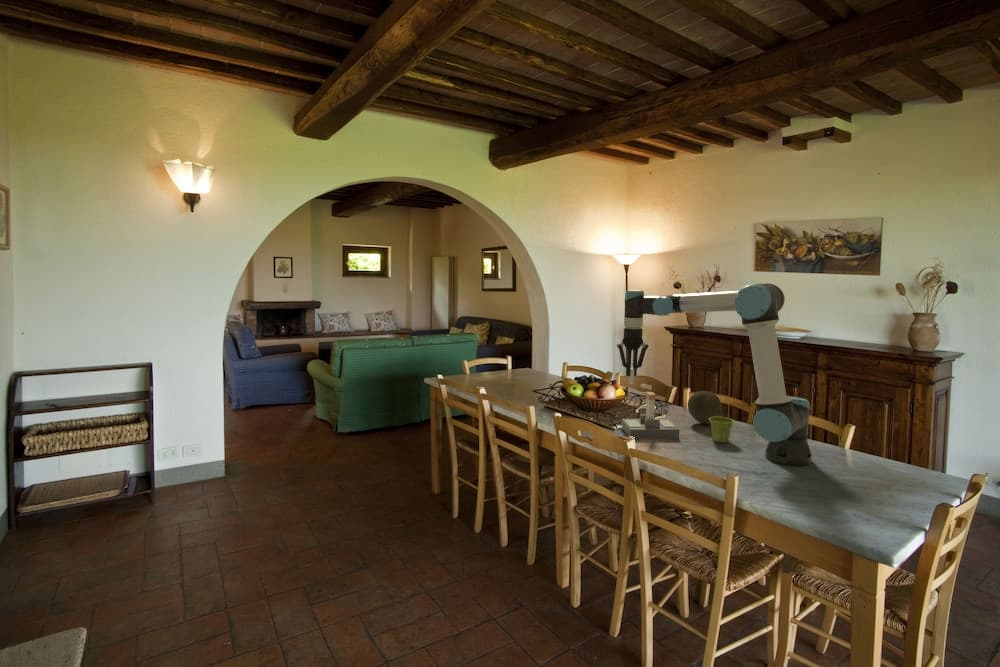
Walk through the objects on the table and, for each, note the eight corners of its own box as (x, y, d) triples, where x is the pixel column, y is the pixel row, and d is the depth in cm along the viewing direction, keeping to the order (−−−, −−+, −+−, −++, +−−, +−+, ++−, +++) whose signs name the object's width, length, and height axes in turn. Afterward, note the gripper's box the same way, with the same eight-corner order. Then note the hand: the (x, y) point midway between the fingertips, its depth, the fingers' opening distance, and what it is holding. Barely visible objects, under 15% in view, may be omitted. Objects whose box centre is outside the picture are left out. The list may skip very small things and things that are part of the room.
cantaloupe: (712, 419, 257) (714, 387, 255) (727, 428, 243) (728, 394, 241) (682, 420, 256) (683, 388, 254) (695, 429, 242) (696, 395, 240)
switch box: (679, 438, 229) (679, 422, 228) (630, 439, 229) (630, 422, 228) (667, 427, 245) (667, 412, 244) (621, 427, 244) (621, 412, 244)
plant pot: (717, 444, 221) (718, 423, 220) (703, 437, 230) (704, 417, 229) (737, 443, 223) (739, 421, 222) (723, 436, 232) (724, 415, 231)
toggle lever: (654, 425, 234) (655, 394, 232) (648, 425, 233) (649, 394, 232) (651, 421, 239) (652, 391, 237) (644, 421, 239) (645, 391, 237)
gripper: (646, 326, 235) (644, 381, 238) (615, 326, 235) (613, 381, 238) (651, 328, 228) (649, 385, 231) (619, 328, 227) (617, 385, 230)
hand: (631, 383), depth 234 cm, fingers closed
